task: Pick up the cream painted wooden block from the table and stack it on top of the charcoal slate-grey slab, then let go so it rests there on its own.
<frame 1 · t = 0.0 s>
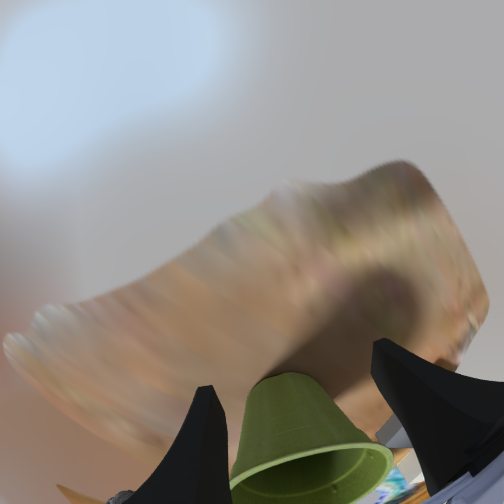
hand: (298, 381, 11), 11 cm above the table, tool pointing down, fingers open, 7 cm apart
plant pot: (282, 399, 23), on the table
cream block: (412, 455, 28), on the table
slate slab: (419, 407, 26), on the table
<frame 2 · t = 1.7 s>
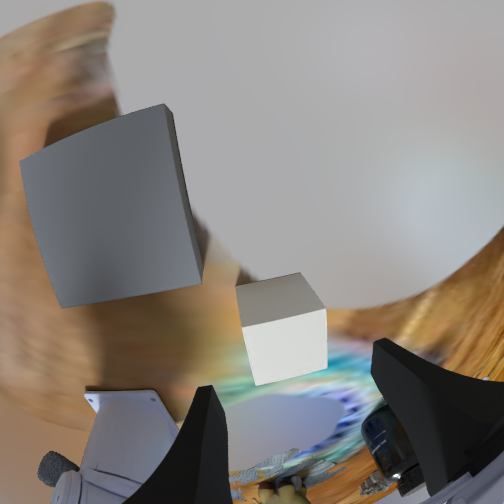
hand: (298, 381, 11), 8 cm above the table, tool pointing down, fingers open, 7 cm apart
egg carton: (378, 474, 37), on the table
koala plush: (101, 480, 28), on the table
stuffed giraffe: (274, 480, 30), on the table
supplement bottle: (382, 417, 27), on the table
cream block: (272, 307, 19), on the table
slate slab: (114, 208, 16), on the table
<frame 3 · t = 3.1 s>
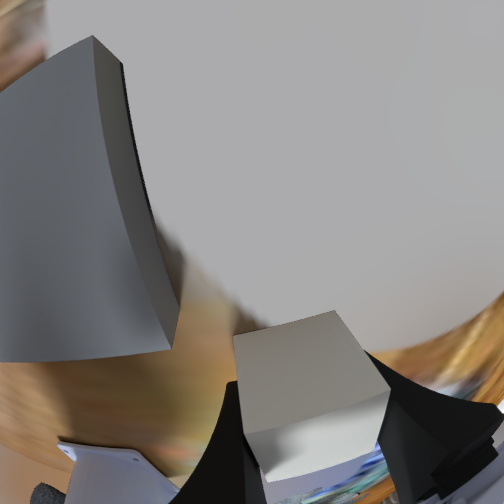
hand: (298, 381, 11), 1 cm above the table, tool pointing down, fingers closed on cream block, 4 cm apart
egg carton: (397, 492, 30), on the table
cream block: (290, 361, 12), on the table, touching gripper
slate slab: (45, 219, 9), on the table
champagne flute: (502, 402, 24), on the table
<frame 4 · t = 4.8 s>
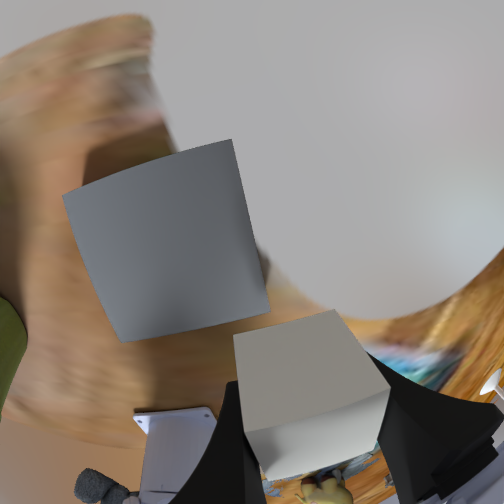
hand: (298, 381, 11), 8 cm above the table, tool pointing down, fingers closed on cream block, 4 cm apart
egg carton: (401, 465, 38), on the table
plant pot: (4, 322, 17), on the table
koala plush: (136, 491, 29), on the table
stuffed giraffe: (314, 474, 31), on the table
cream block: (291, 360, 12), point 7 cm above the table, touching gripper
slate slab: (171, 239, 17), on the table
champagne flute: (490, 381, 32), on the table
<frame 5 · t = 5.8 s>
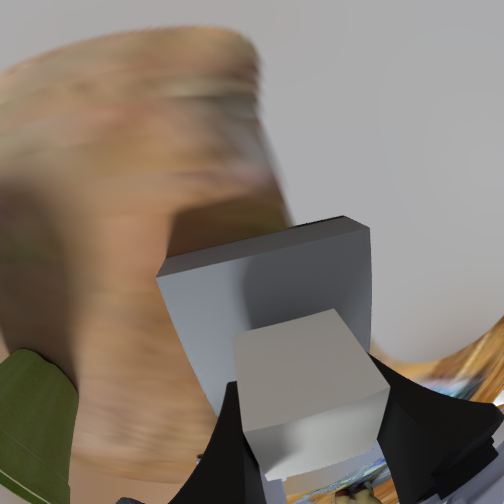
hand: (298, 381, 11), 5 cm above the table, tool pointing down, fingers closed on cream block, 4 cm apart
plant pot: (46, 379, 16), on the table
stuffed giraffe: (347, 487, 30), on the table
cream block: (290, 359, 12), point 4 cm above the table, touching gripper
slate slab: (273, 312, 16), on the table
champagne flute: (500, 396, 31), on the table
when the fingers open (5 cm above the table, at t = 6.6 s): cream block drops 1 cm, resting on slate slab.
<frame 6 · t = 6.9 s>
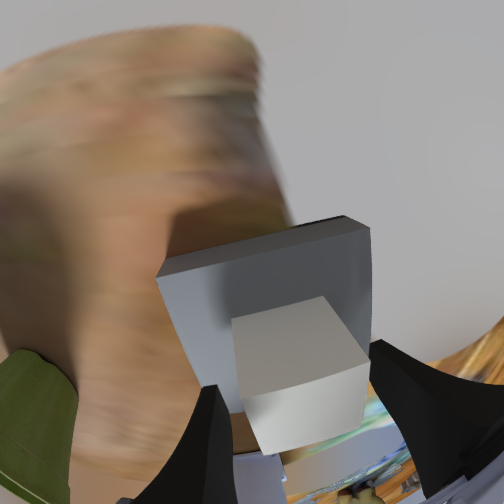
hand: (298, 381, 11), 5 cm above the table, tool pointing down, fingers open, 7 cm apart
egg carton: (416, 473, 37), on the table
plant pot: (45, 380, 16), on the table
stuffed giraffe: (349, 486, 30), on the table
cream block: (284, 343, 13), point 2 cm above the table, touching slate slab
slate slab: (273, 312, 16), on the table, touching cream block
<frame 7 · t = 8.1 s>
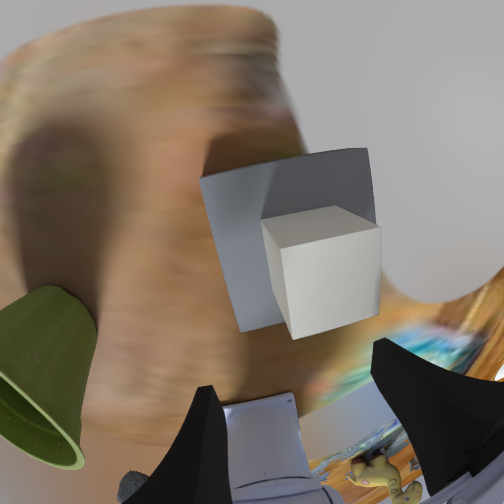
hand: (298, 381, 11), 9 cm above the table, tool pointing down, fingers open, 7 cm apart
egg carton: (424, 449, 40), on the table
plant pot: (64, 321, 19), on the table
koala plush: (178, 490, 31), on the table
stuffed giraffe: (362, 455, 33), on the table
cream block: (303, 248, 16), point 2 cm above the table, touching slate slab
slate slab: (291, 231, 19), on the table, touching cream block
champagne flute: (503, 368, 34), on the table
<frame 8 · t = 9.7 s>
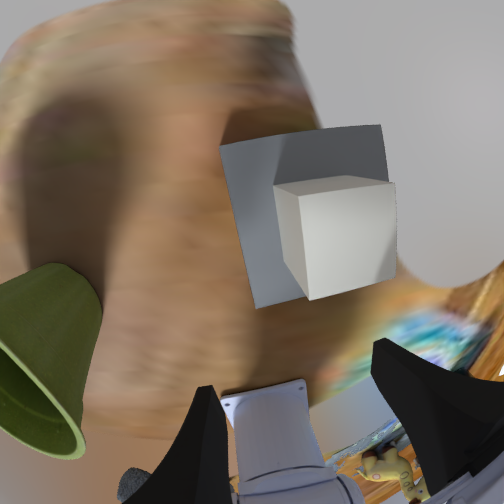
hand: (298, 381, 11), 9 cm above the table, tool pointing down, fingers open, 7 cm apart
plant pot: (67, 302, 18), on the table
koala plush: (180, 488, 31), on the table
stuffed giraffe: (372, 448, 33), on the table
cream block: (315, 217, 16), point 2 cm above the table, touching slate slab
slate slab: (306, 206, 18), on the table, touching cream block
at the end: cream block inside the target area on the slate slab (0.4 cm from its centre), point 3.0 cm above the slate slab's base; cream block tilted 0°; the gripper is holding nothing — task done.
